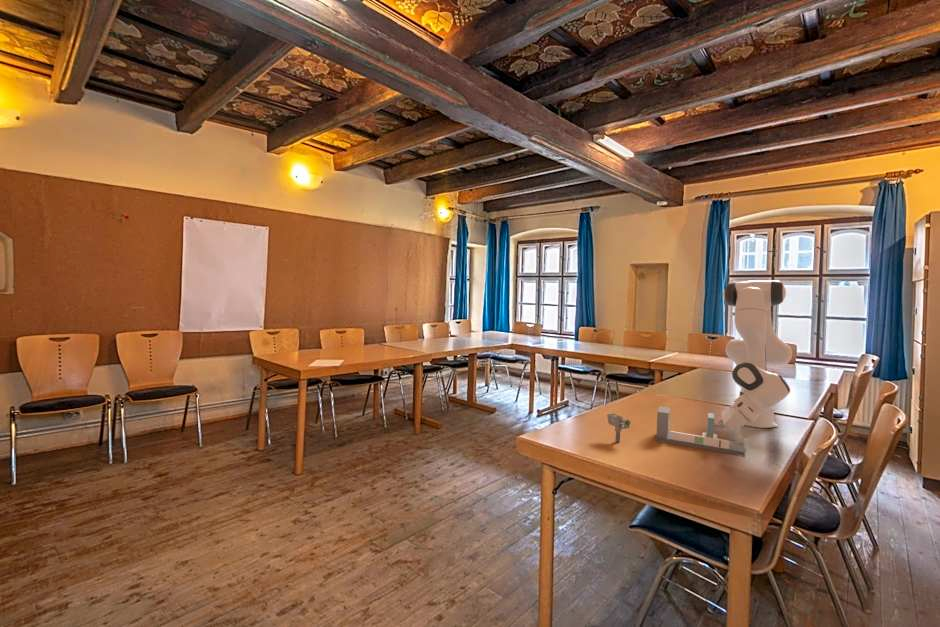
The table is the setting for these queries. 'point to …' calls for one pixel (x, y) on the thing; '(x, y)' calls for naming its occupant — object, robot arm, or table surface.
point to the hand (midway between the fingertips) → (715, 428)
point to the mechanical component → (618, 424)
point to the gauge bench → (693, 437)
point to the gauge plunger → (710, 427)
